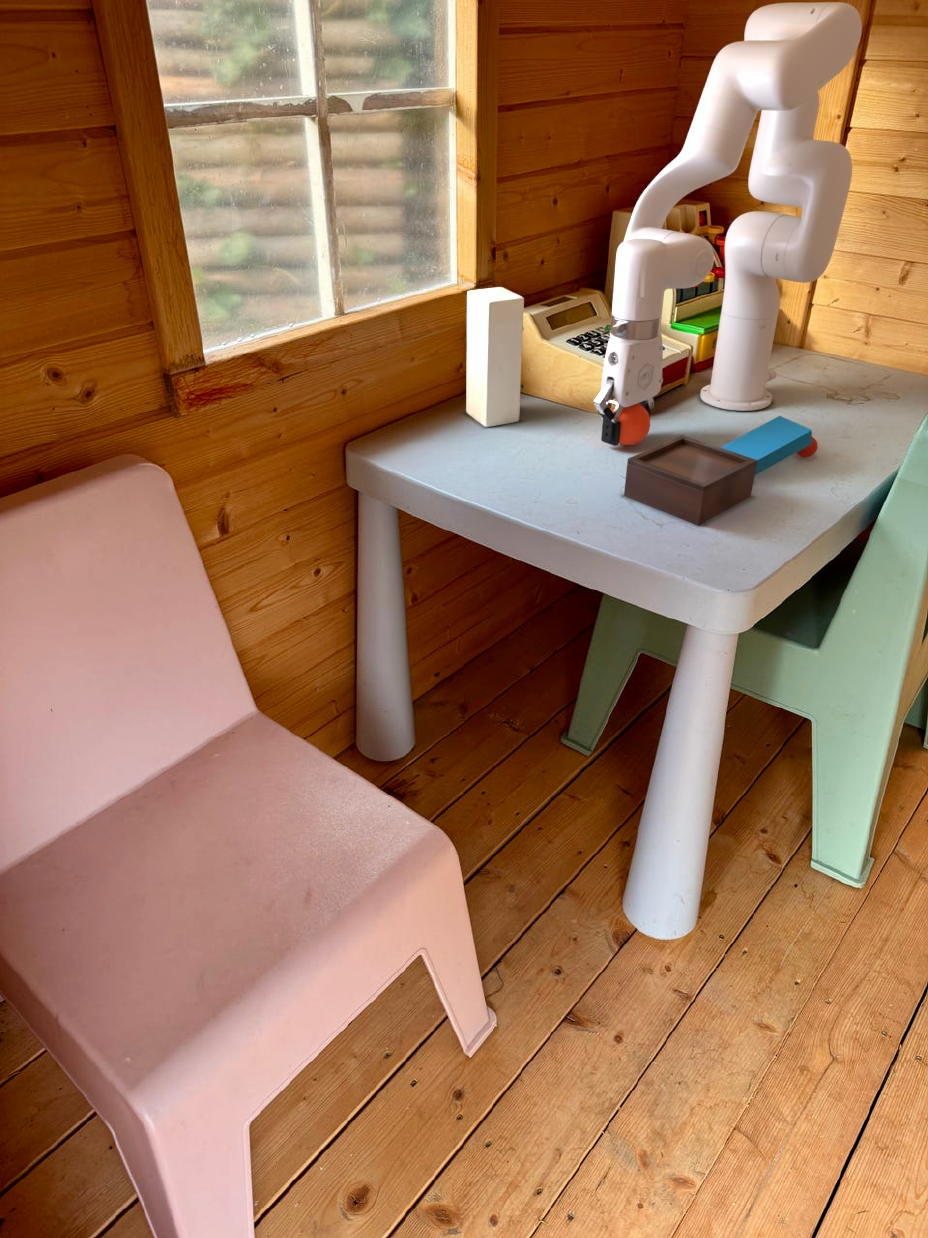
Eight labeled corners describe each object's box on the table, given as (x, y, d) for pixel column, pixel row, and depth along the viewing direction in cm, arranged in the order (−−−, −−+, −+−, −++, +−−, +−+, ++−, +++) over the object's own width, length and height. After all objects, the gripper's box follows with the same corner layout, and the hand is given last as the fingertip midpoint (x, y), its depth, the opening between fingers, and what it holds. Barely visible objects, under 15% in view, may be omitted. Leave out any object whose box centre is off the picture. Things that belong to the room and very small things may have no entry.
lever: (739, 510, 138) (830, 458, 142) (736, 471, 134) (831, 419, 138) (709, 492, 143) (798, 443, 147) (706, 455, 139) (798, 405, 143)
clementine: (595, 448, 147) (599, 406, 143) (602, 433, 153) (605, 392, 149) (645, 453, 145) (650, 411, 141) (650, 437, 151) (654, 396, 147)
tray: (677, 470, 140) (681, 434, 137) (750, 497, 132) (757, 459, 129) (623, 495, 132) (627, 458, 129) (698, 525, 124) (704, 486, 121)
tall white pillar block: (524, 421, 157) (528, 296, 146) (486, 428, 155) (487, 301, 143) (502, 406, 163) (504, 285, 152) (465, 413, 161) (465, 290, 149)
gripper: (618, 344, 131) (608, 458, 141) (689, 320, 141) (675, 429, 151) (579, 333, 136) (572, 445, 146) (650, 311, 146) (639, 417, 156)
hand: (625, 436), depth 148 cm, fingers closed on clementine, 7 cm apart
